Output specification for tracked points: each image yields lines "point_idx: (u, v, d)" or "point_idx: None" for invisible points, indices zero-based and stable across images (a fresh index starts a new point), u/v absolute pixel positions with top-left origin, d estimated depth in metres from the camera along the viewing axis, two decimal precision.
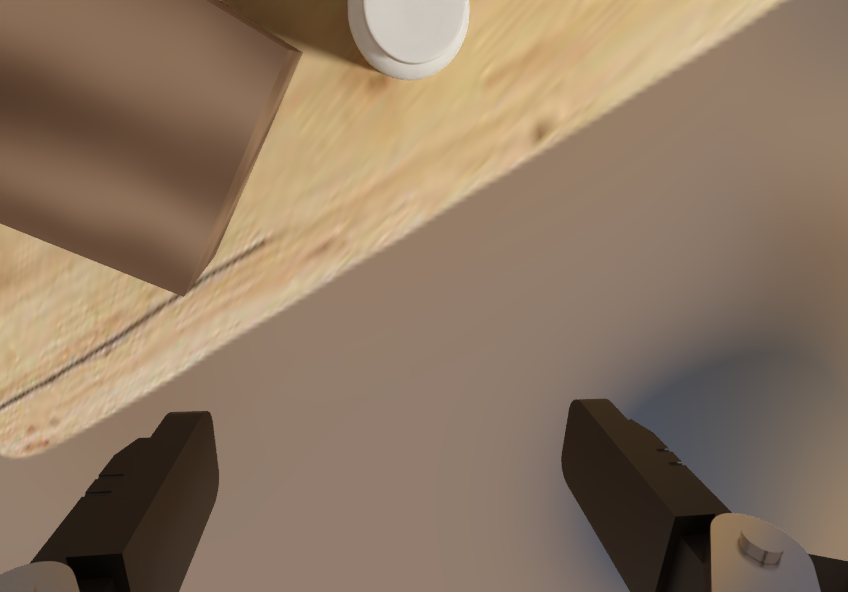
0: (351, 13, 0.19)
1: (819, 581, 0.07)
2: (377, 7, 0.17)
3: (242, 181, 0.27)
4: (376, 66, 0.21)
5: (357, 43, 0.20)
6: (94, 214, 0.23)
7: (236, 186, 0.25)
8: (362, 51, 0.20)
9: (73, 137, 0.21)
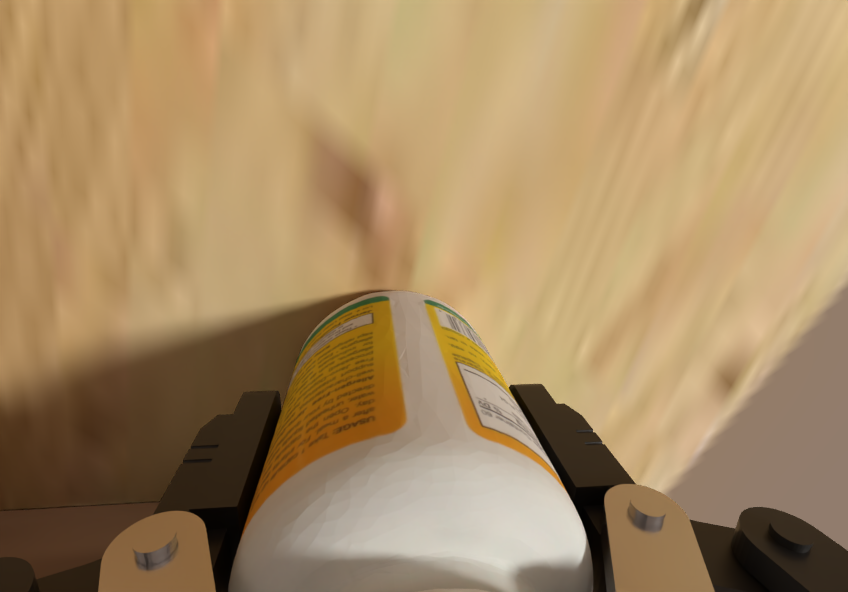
0: None
1: (702, 545, 0.07)
2: None
3: None
4: None
5: None
6: None
7: None
8: None
9: None
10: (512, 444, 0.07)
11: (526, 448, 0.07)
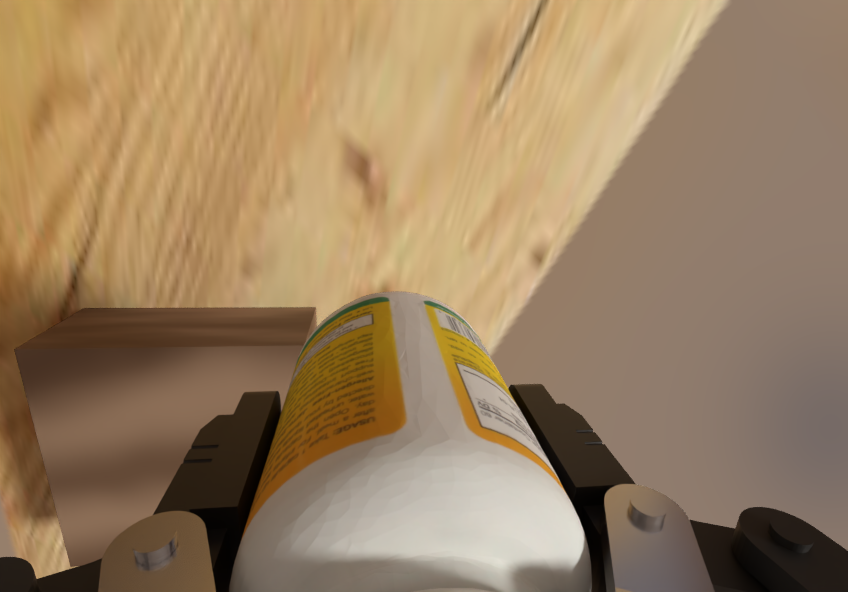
0: None
1: (702, 545, 0.07)
2: None
3: None
4: None
5: None
6: None
7: None
8: None
9: None
10: (511, 444, 0.07)
11: (525, 448, 0.07)
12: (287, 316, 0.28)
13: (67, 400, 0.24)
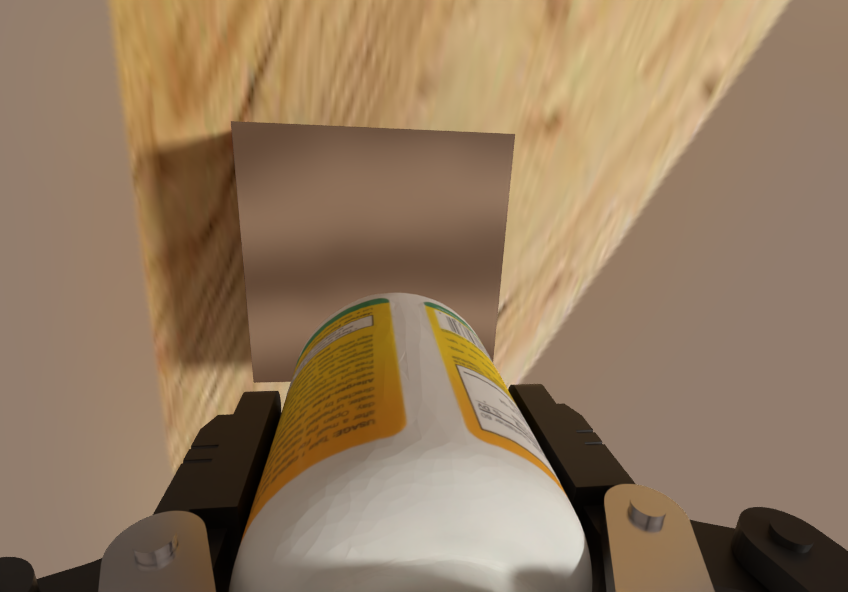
0: None
1: (702, 545, 0.07)
2: None
3: None
4: None
5: None
6: None
7: None
8: None
9: (380, 286, 0.25)
10: (512, 447, 0.07)
11: (526, 452, 0.07)
12: None
13: (275, 185, 0.23)
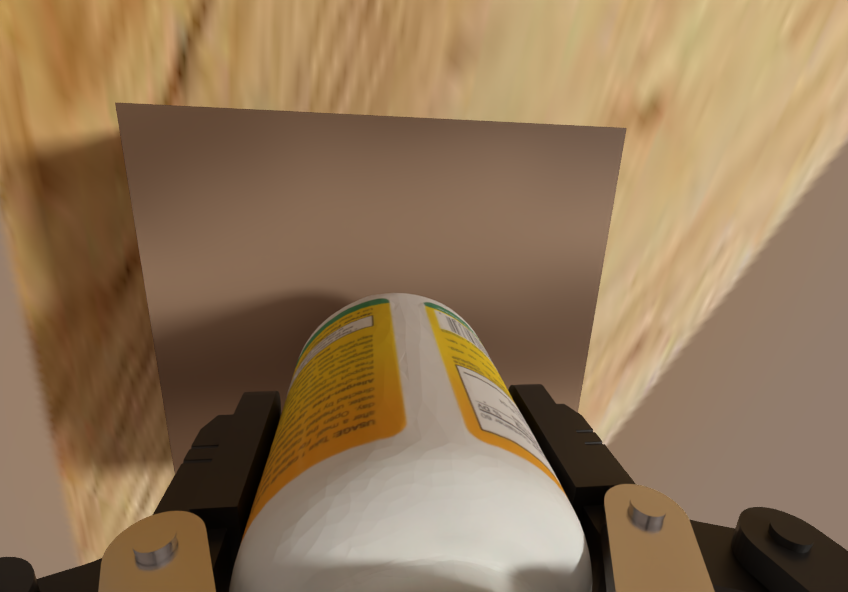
0: None
1: (702, 545, 0.07)
2: None
3: None
4: None
5: None
6: None
7: None
8: None
9: None
10: (511, 447, 0.07)
11: (526, 451, 0.07)
12: None
13: (205, 218, 0.13)
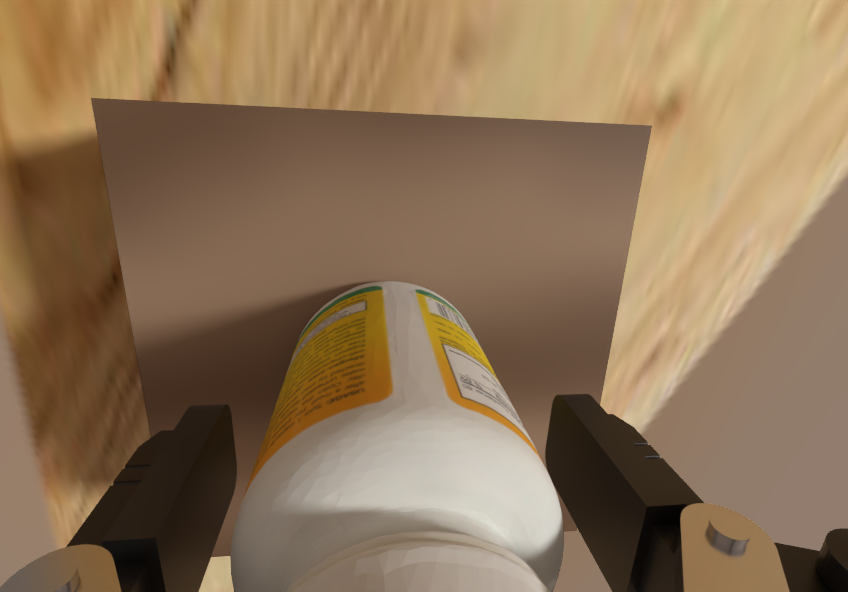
0: None
1: (785, 569, 0.07)
2: None
3: None
4: None
5: None
6: None
7: None
8: None
9: None
10: (489, 413, 0.07)
11: (502, 418, 0.07)
12: None
13: (192, 225, 0.12)
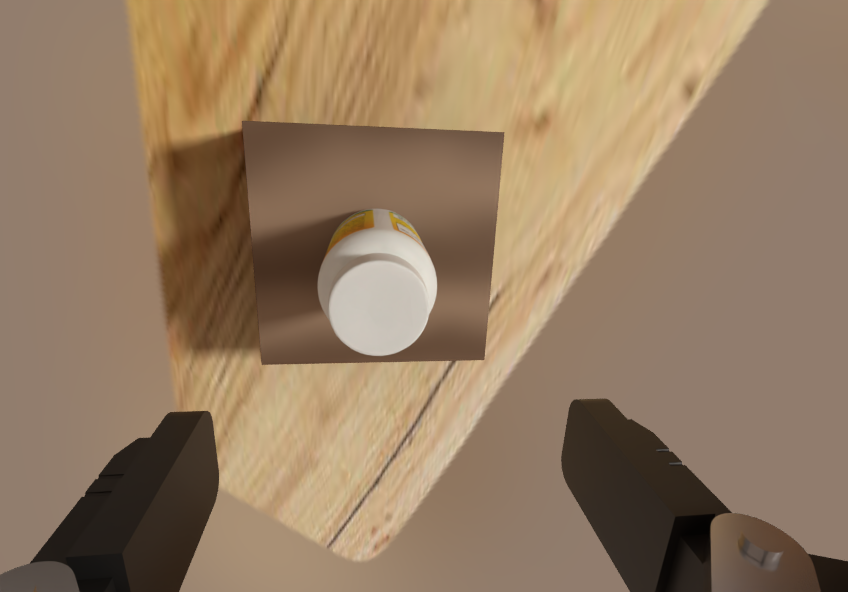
0: None
1: (819, 581, 0.07)
2: (348, 330, 0.18)
3: None
4: None
5: None
6: None
7: None
8: None
9: None
10: (408, 235, 0.20)
11: (414, 238, 0.21)
12: None
13: (282, 180, 0.25)
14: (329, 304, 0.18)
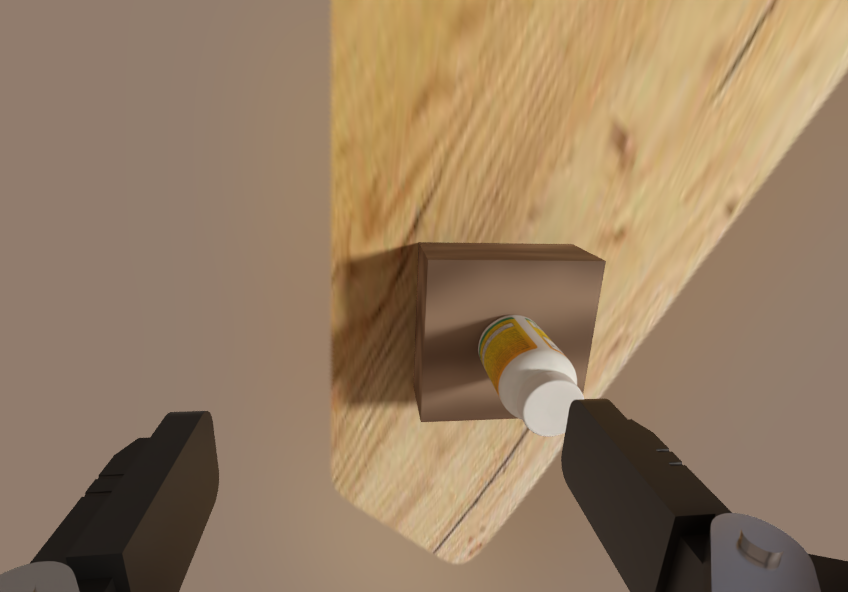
0: (508, 408, 0.31)
1: (819, 581, 0.07)
2: (533, 421, 0.28)
3: None
4: None
5: (515, 416, 0.31)
6: None
7: None
8: None
9: None
10: (559, 352, 0.31)
11: (562, 353, 0.31)
12: (563, 248, 0.40)
13: (450, 297, 0.35)
14: (524, 406, 0.28)
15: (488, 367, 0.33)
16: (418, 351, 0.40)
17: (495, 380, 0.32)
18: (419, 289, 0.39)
